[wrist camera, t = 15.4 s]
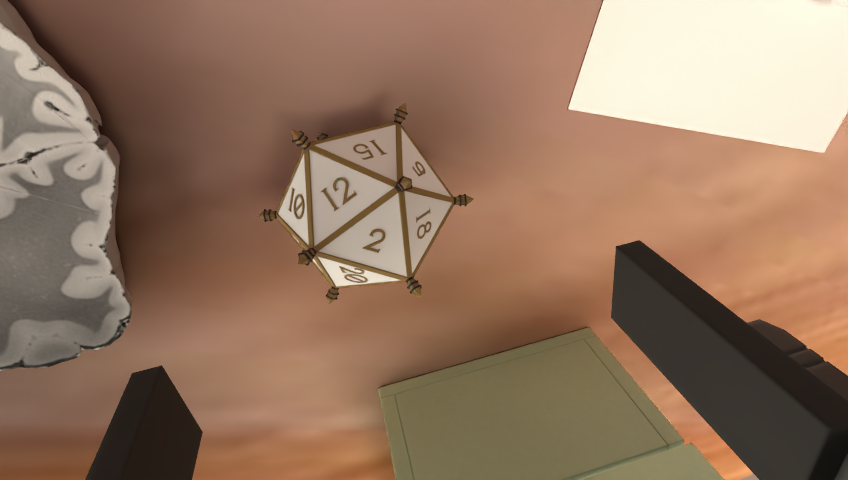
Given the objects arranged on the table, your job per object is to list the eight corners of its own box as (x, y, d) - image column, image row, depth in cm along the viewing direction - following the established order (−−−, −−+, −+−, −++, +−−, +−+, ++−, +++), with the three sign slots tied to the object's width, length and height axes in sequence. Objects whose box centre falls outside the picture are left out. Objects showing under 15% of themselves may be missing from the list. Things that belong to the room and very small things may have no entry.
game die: (379, 169, 29) (467, 303, 25) (240, 210, 25) (321, 376, 21) (409, 41, 22) (539, 203, 18) (220, 71, 18) (337, 286, 14)
